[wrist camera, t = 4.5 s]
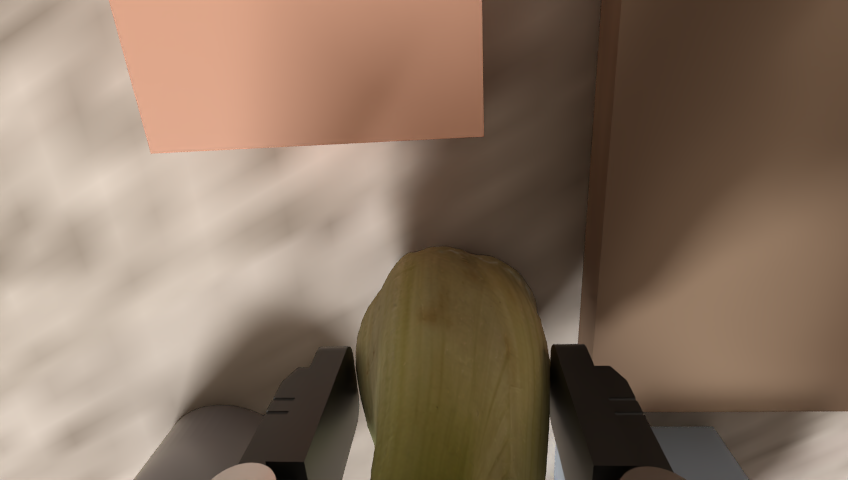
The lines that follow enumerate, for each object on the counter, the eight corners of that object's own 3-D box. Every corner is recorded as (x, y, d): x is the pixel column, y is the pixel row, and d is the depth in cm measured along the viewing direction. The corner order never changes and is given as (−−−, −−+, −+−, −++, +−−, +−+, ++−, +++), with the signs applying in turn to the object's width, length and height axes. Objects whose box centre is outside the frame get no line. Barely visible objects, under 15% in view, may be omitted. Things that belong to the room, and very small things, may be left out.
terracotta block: (470, -73, 11) (479, -152, 7) (474, 107, 12) (483, 136, 8) (217, -52, 11) (77, -113, 7) (250, 119, 13) (150, 153, 9)
